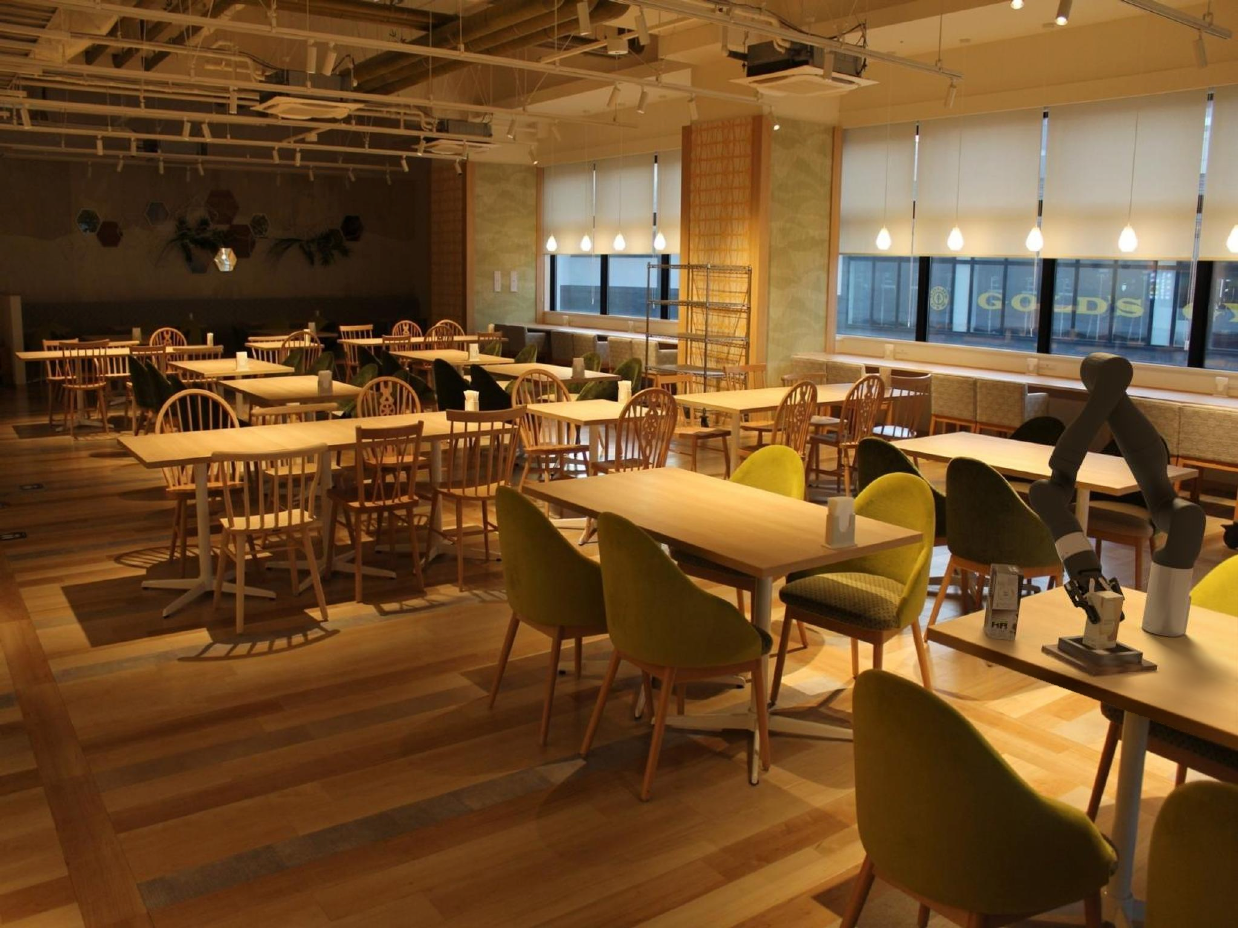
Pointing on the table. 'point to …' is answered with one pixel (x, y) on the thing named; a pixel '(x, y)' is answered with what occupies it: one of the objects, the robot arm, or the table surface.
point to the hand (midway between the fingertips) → (1109, 621)
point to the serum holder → (1099, 657)
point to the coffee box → (1003, 601)
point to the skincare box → (1104, 620)
